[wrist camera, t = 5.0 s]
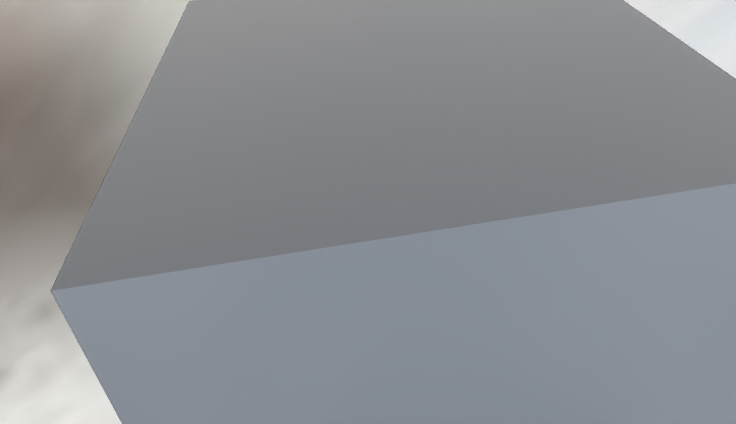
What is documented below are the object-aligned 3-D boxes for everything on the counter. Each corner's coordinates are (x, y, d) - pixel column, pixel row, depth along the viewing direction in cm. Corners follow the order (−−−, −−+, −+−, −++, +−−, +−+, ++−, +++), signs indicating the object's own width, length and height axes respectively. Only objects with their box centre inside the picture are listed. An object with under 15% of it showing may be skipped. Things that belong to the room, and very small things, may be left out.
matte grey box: (545, -55, 13) (857, 164, 6) (534, 354, 20) (673, 694, 12) (188, 1, 13) (49, 291, 6) (299, 390, 20) (300, 753, 12)
